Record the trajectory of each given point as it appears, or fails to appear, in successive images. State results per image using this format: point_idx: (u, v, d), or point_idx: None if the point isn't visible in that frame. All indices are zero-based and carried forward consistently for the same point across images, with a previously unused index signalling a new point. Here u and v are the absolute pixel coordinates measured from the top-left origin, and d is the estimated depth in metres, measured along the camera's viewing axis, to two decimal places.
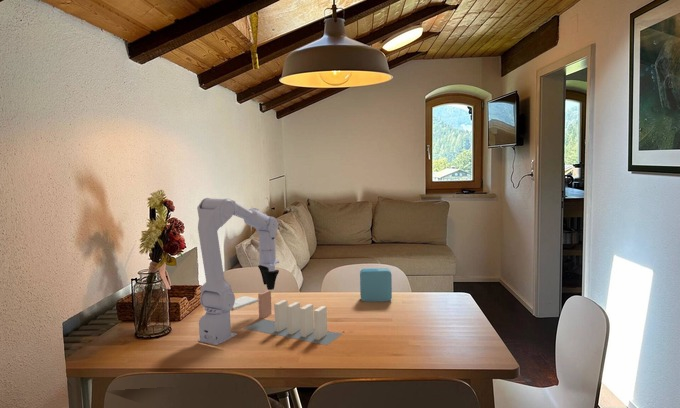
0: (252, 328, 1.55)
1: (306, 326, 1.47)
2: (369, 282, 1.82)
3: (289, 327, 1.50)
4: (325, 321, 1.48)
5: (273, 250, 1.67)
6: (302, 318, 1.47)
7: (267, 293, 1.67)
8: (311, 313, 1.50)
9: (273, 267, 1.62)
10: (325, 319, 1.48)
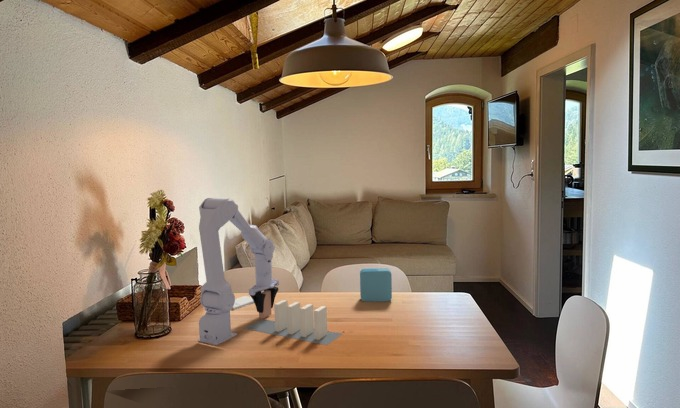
0: (252, 328, 1.55)
1: (306, 326, 1.47)
2: (369, 282, 1.82)
3: (289, 327, 1.50)
4: (325, 321, 1.48)
5: (263, 274, 1.63)
6: (302, 318, 1.47)
7: (267, 293, 1.67)
8: (311, 313, 1.50)
9: (252, 291, 1.60)
10: (325, 319, 1.48)
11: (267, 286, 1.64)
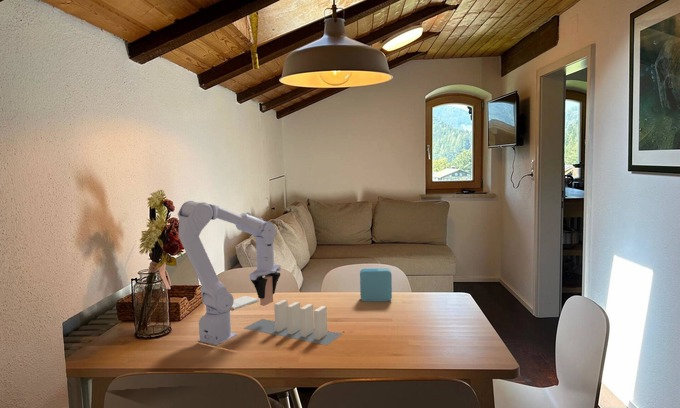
0: (252, 328, 1.55)
1: (306, 326, 1.47)
2: (369, 282, 1.82)
3: (289, 327, 1.50)
4: (325, 321, 1.48)
5: (265, 258, 1.56)
6: (302, 318, 1.47)
7: (269, 278, 1.60)
8: (311, 313, 1.50)
9: (253, 276, 1.53)
10: (325, 319, 1.48)
11: (269, 271, 1.57)
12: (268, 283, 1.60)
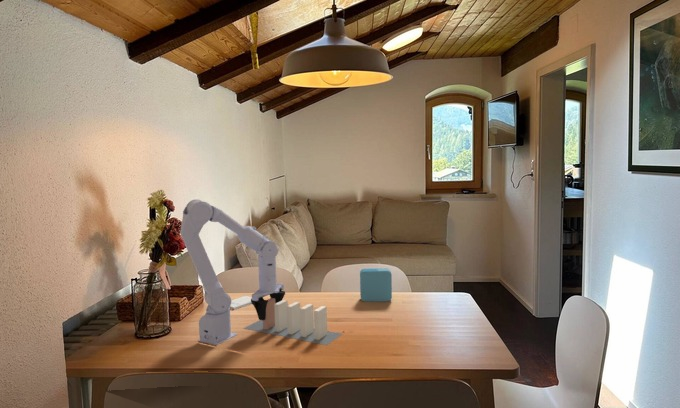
0: (252, 328, 1.55)
1: (306, 326, 1.47)
2: (369, 282, 1.82)
3: (289, 327, 1.50)
4: (325, 321, 1.48)
5: (267, 278, 1.52)
6: (302, 318, 1.47)
7: (271, 301, 1.56)
8: (311, 313, 1.50)
9: (255, 297, 1.49)
10: (325, 319, 1.48)
11: (271, 291, 1.53)
12: (271, 306, 1.56)
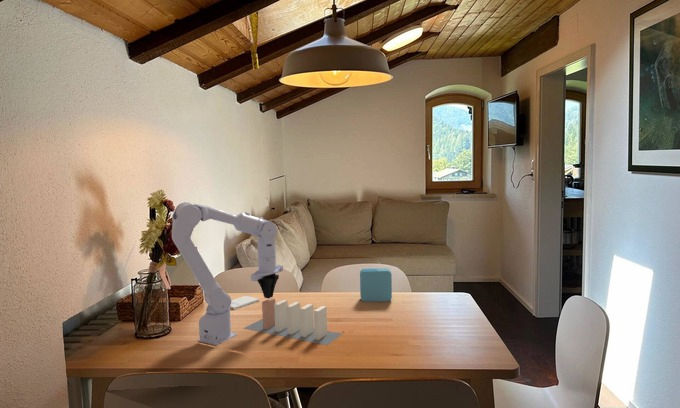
0: (252, 328, 1.55)
1: (306, 326, 1.47)
2: (369, 282, 1.82)
3: (289, 327, 1.50)
4: (325, 321, 1.48)
5: (266, 258, 1.52)
6: (302, 318, 1.47)
7: (271, 301, 1.56)
8: (311, 313, 1.50)
9: (254, 277, 1.48)
10: (325, 319, 1.48)
11: (271, 271, 1.52)
12: (271, 306, 1.56)
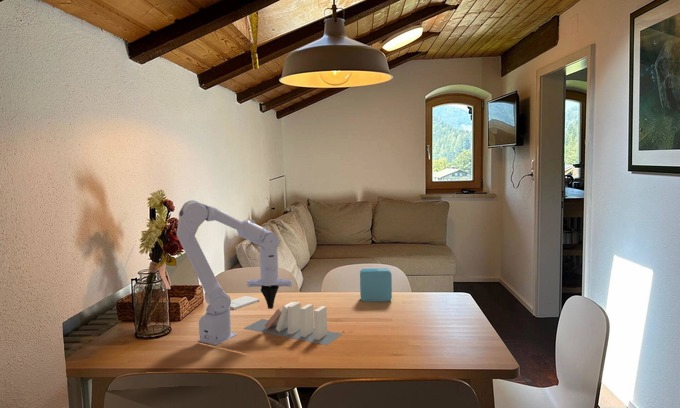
0: (252, 328, 1.55)
1: (306, 326, 1.47)
2: (369, 282, 1.82)
3: (289, 327, 1.49)
4: (325, 321, 1.48)
5: (261, 269, 1.53)
6: (302, 318, 1.47)
7: None
8: (311, 313, 1.50)
9: None
10: (325, 319, 1.48)
11: (263, 282, 1.52)
12: None
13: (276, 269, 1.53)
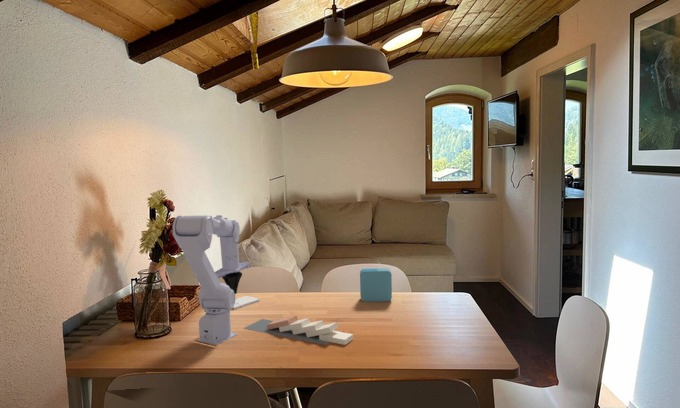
0: (252, 328, 1.55)
1: (317, 334, 1.46)
2: (369, 282, 1.82)
3: (297, 330, 1.48)
4: None
5: (228, 257, 1.55)
6: (321, 331, 1.44)
7: (293, 322, 1.52)
8: None
9: None
10: None
11: (232, 270, 1.56)
12: None
13: None
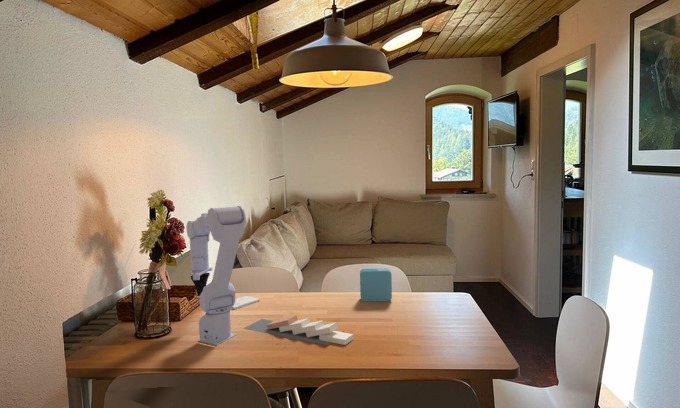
0: (252, 328, 1.55)
1: (317, 334, 1.46)
2: (369, 282, 1.82)
3: (297, 330, 1.48)
4: None
5: (203, 257, 1.56)
6: (321, 331, 1.44)
7: (293, 322, 1.52)
8: None
9: (197, 276, 1.52)
10: None
11: (207, 269, 1.58)
12: None
13: None
